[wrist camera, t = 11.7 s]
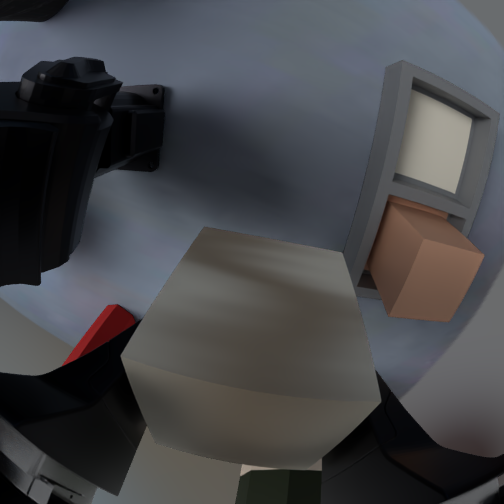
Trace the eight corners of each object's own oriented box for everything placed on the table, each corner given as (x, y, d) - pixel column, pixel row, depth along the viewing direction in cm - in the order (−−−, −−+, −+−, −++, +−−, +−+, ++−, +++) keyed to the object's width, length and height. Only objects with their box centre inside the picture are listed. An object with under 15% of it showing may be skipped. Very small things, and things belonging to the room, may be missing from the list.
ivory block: (199, 326, 12) (155, 443, 7) (204, 226, 10) (120, 355, 4) (306, 346, 12) (305, 470, 7) (342, 252, 9) (381, 401, 4)
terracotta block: (366, 263, 19) (388, 316, 14) (386, 200, 17) (423, 238, 11) (419, 273, 19) (449, 322, 14) (441, 216, 16) (484, 255, 11)
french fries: (123, 350, 30) (78, 432, 19) (95, 331, 29) (45, 408, 18) (145, 313, 26) (86, 417, 15) (112, 290, 25) (42, 384, 14)
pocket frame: (337, 271, 21) (342, 294, 18) (385, 66, 13) (402, 60, 11) (421, 286, 21) (433, 307, 18) (476, 110, 13) (499, 113, 10)
